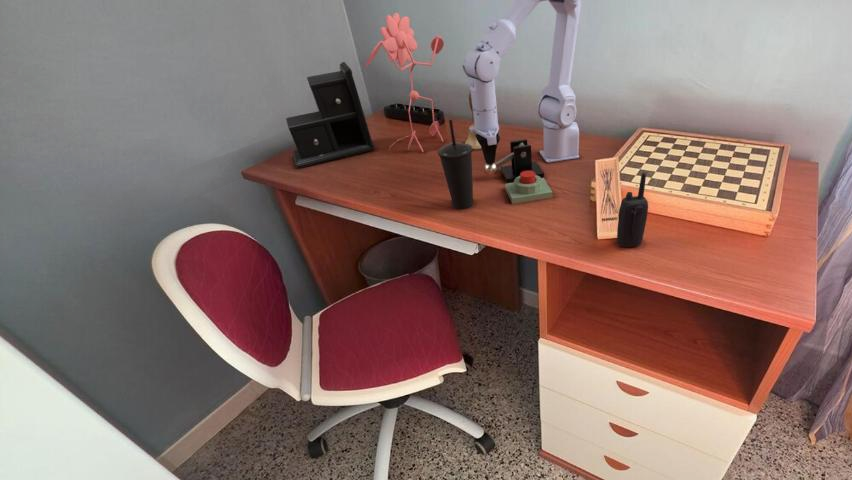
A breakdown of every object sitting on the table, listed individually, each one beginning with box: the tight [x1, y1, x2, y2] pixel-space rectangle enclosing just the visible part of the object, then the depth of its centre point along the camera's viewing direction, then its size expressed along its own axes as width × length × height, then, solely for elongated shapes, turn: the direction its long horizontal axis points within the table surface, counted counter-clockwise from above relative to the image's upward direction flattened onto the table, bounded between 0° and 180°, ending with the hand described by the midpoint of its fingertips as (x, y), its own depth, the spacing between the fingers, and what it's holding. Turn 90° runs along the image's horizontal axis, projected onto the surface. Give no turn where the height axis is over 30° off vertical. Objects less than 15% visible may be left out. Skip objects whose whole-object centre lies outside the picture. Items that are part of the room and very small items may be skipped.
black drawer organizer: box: [285, 61, 375, 169], centre depth 125 cm, size 23×11×24 cm, turn 116°
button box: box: [504, 175, 554, 205], centre depth 103 cm, size 10×8×4 cm
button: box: [520, 171, 535, 184], centre depth 102 cm, size 4×4×2 cm
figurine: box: [365, 12, 457, 153], centre depth 123 cm, size 15×26×35 cm, turn 145°
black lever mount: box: [499, 138, 545, 184], centre depth 110 cm, size 10×8×8 cm
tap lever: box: [483, 142, 524, 177], centre depth 109 cm, size 12×4×4 cm, turn 102°
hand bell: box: [464, 90, 482, 150], centre depth 126 cm, size 8×8×16 cm
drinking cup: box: [437, 119, 474, 211], centre depth 96 cm, size 8×8×20 cm
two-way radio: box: [616, 172, 649, 248], centre depth 80 cm, size 6×4×15 cm
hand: (490, 162), depth 109 cm, fingers closed, pressing on tap lever
